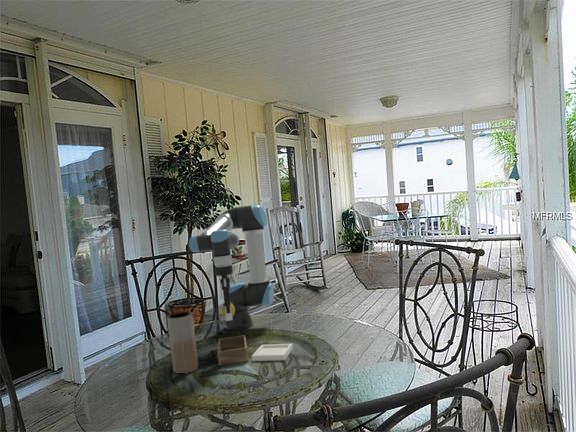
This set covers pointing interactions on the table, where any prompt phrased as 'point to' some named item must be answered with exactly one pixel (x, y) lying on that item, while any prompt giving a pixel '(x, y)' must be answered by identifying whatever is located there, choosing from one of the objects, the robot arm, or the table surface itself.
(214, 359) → the table surface
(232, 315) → the fruit
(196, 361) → the planter
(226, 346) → the open wooden box frame
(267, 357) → the plate
